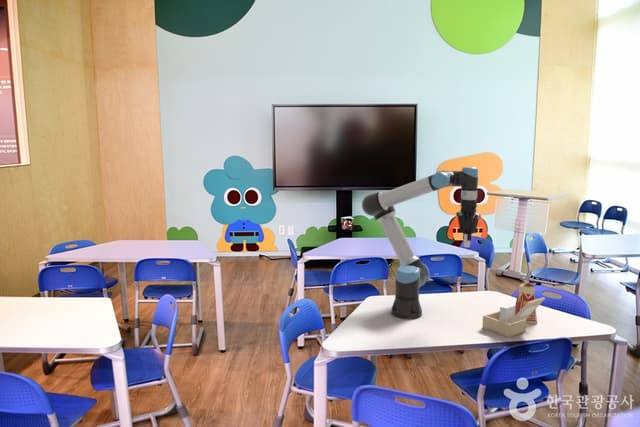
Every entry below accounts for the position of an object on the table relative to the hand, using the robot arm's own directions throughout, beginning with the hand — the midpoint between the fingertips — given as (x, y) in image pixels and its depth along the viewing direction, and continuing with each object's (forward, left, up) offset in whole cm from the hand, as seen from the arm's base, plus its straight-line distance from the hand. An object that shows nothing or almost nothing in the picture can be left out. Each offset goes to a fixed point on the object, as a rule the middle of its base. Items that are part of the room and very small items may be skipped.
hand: (466, 246), depth 238 cm
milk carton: (+28, +6, -35) cm, 45 cm away
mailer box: (+20, -14, -34) cm, 42 cm away
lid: (+29, -19, -22) cm, 41 cm away
